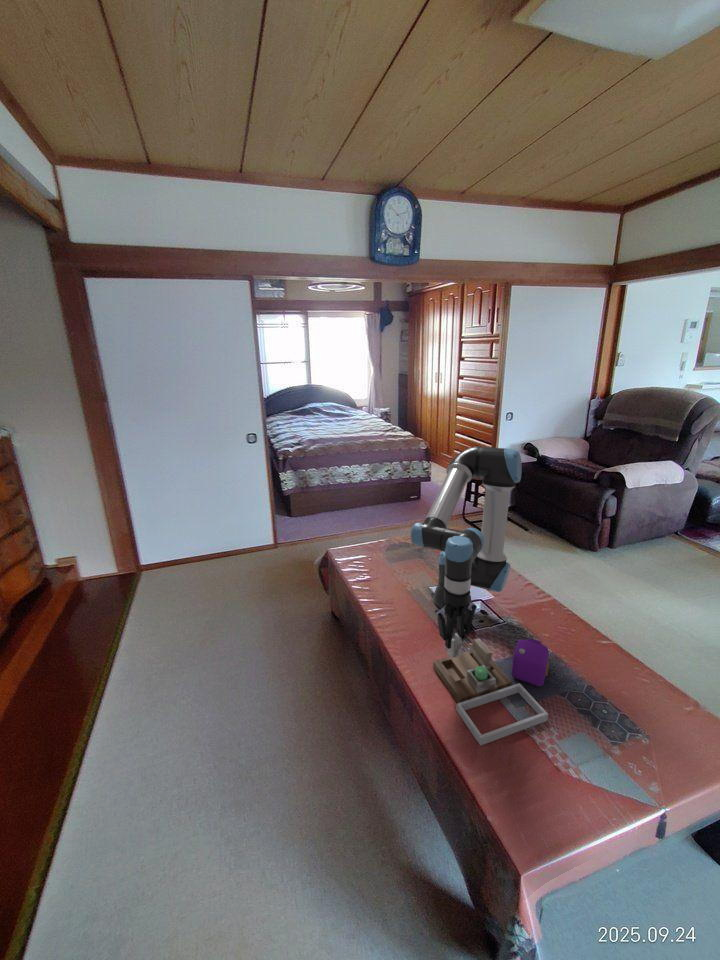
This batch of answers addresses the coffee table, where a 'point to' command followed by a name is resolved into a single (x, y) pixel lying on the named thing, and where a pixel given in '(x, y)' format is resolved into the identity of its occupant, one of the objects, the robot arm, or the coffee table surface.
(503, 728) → the rectangular frame
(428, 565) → the coffee table surface
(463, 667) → the station
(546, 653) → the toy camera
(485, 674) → the button
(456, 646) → the lighter
